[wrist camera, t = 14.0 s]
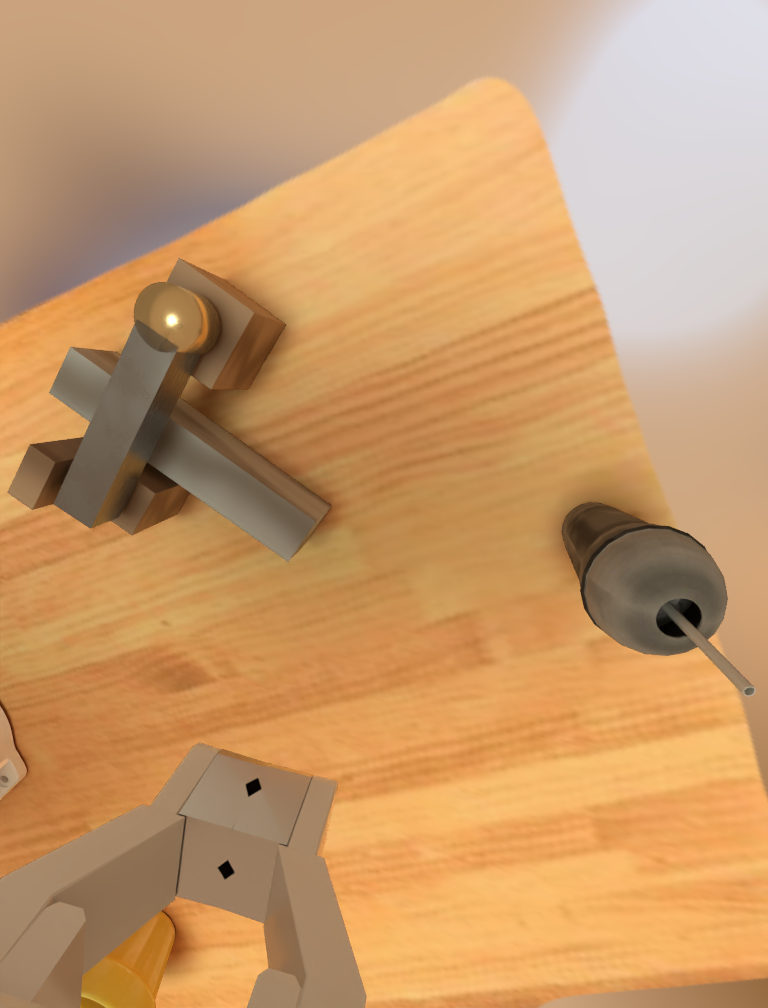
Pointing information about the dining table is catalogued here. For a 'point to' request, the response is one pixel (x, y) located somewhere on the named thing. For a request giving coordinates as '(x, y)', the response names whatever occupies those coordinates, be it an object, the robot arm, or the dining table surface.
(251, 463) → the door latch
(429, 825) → the dining table surface
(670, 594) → the beverage cup
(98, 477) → the bar
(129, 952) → the plant pot
